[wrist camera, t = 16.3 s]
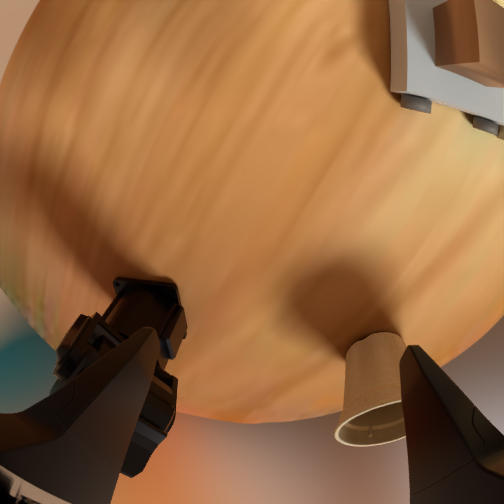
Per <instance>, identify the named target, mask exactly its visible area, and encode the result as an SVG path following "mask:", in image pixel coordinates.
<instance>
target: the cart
mask: <svg viewBox="0 0 504 504" xmlns="http://www.w3.org/2000/svg"><path fill="white" fill-rule="evenodd" d="M446 1H448V0H389V13H390V33H391V84H390V92H395V93H399V94H404V95H401V106H400V107H403V108H407V109H411V110H416V111H420V112H425V113H430V114H431V102H435V103H438V104H441V105H445V106H448V107H451V108H454V109H457V110H460V111H463V112H466V113H469V114H472V115H474V118H473V127H474V128H477V129H479V130H482V131H485V132H488V133H491V134H494V135H497V132H498V124H499V125H503V126H504V88H497V87H486V86H484V85H482V84H479V83H477V82H475V81H473V80H470V79H468V78H465V77H463V76H460V75H458V74H455V73H453V72H450V71H447V70H444V69H442V68H439V67H436V66H435V31H434V17H433V8H434V7H436V6H438V5H440V4H442V3H444V2H446ZM476 116H477V117H476Z"/></svg>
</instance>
